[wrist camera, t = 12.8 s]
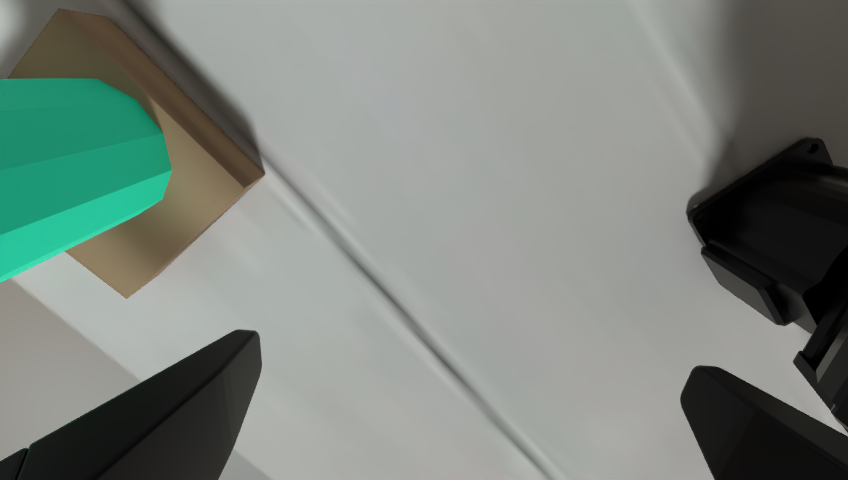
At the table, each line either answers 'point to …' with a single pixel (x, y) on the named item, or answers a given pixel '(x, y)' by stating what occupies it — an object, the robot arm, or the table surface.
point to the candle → (71, 166)
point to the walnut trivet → (185, 140)
